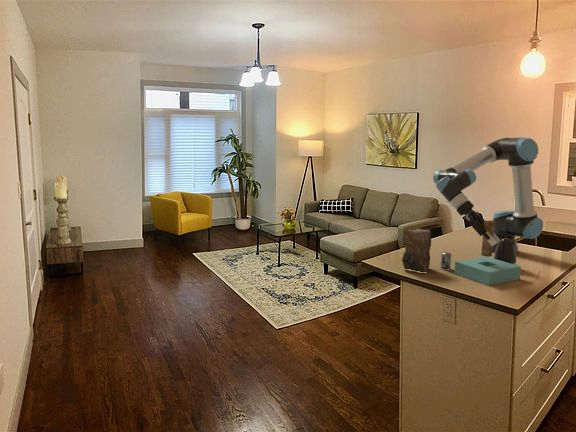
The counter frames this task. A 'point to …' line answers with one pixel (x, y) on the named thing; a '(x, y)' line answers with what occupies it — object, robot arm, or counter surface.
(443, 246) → the counter surface
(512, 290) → the counter surface
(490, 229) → the long walnut pin
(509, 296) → the counter surface
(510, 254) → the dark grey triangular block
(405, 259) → the rough brown stone
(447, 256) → the short steel pin
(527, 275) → the counter surface
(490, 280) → the socket block
